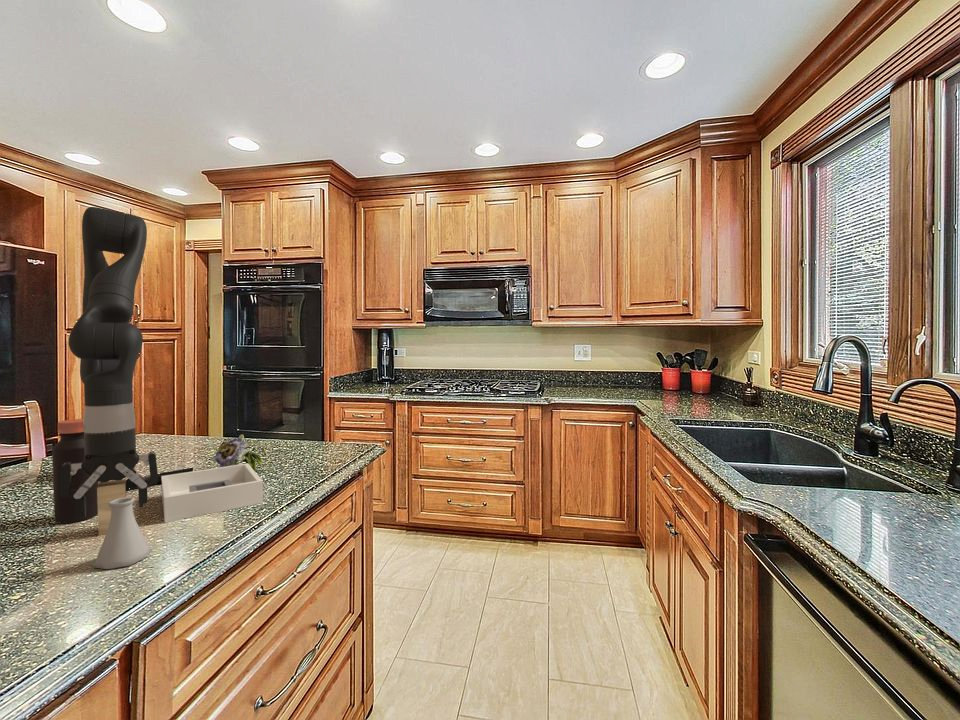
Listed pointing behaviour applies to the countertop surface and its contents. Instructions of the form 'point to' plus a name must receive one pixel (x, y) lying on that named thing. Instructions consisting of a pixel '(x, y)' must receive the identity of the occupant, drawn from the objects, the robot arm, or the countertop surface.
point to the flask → (122, 538)
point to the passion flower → (236, 453)
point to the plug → (108, 501)
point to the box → (210, 491)
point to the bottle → (73, 452)
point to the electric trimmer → (133, 486)
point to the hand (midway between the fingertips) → (112, 511)
